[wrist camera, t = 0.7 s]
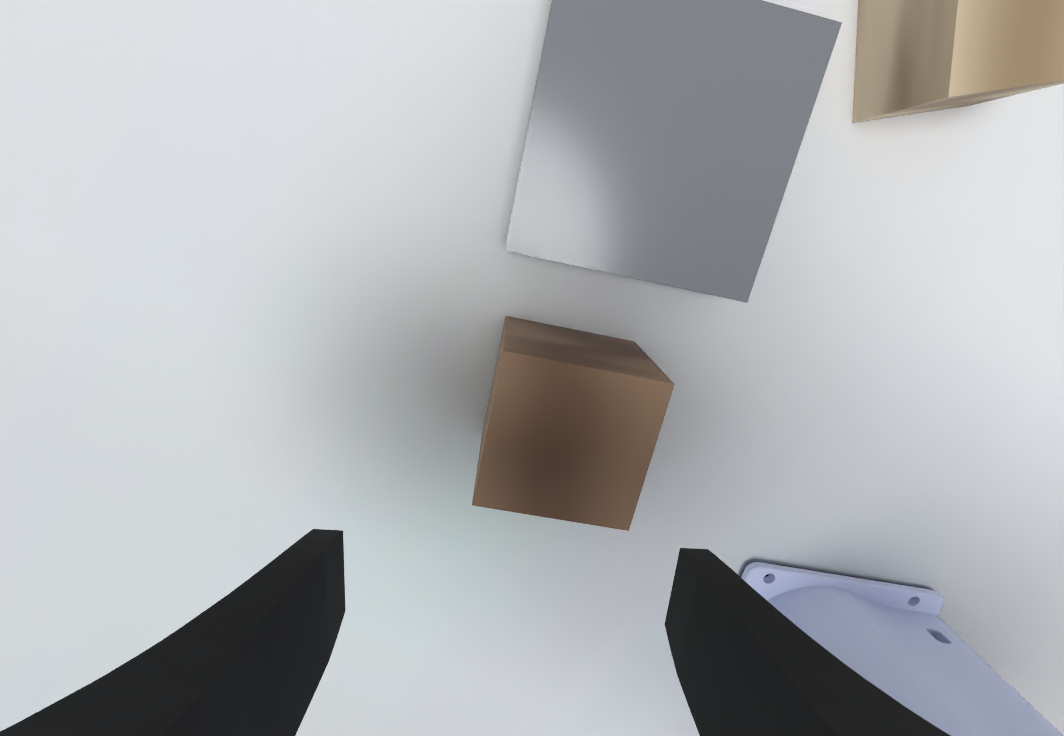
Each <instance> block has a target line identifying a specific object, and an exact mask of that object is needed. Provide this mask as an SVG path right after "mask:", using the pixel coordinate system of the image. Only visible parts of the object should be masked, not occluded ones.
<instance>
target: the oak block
mask: <svg viewBox="0 0 1064 736" xmlns="http://www.w3.org/2000/svg"><path fill="white" fill-rule="evenodd" d="M1062 83H1064V0H858V17H857V37H856V58H855V79H854V99H853V120H852V123H855V122H862V121H868V120H875V119H882V118H889V117H895V116H902V115H909V114H916V113H922V112H929V111H936V110H942V109H949V108H956V107H963V106H969V105H973V104H978V103H982V102H986V101H990V100H995V99H999V98H1003V97H1007V96H1012V95H1016V94H1020V93H1024V92H1028V91H1033V90H1037V89H1041V88H1045V87H1050V86H1054V85H1058V84H1062Z"/></svg>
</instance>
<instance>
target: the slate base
mask: <svg viewBox="0 0 1064 736" xmlns="http://www.w3.org/2000/svg"><path fill="white" fill-rule="evenodd" d="M841 24H842V22H838V21H834V20H831V19H827V18H823V17H820V16H816V15H813V14H809V13H805V12H802V11H798V10H795V9H791V8H787V7H784V6H780V5H777V4H773V3H769V2H766V1H762V0H552V4H551V9H550V14H549V19H548V24H547V30H546V35H545V40H544V45H543V51H542V56H541V61H540V66H539V72H538V77H537V82H536V87H535V93H534V98H533V103H532V108H531V114H530V119H529V124H528V129H527V135H526V140H525V145H524V150H523V156H522V161H521V166H520V171H519V177H518V182H517V187H516V192H515V197H514V203H513V208H512V213H511V218H510V224H509V229H508V234H507V239H506V245H505V250H504V251H508V252H513V253H518V254H522V255H527V256H532V257H536V258H541V259H546V260H550V261H555V262H560V263H564V264H569V265H574V266H578V267H583V268H588V269H592V270H597V271H602V272H607V273H611V274H616V275H621V276H625V277H630V278H635V279H639V280H644V281H649V282H653V283H658V284H663V285H667V286H672V287H677V288H681V289H686V290H691V291H695V292H700V293H705V294H709V295H714V296H719V297H724V298H728V299H733V300H738V301H742V302H748V299H749V296H750V293H751V290H752V287H753V284H754V281H755V278H756V275H757V272H758V269H759V266H760V263H761V260H762V257H763V254H764V251H765V248H766V245H767V242H768V240H769V237H770V234H771V231H772V228H773V225H774V222H775V219H776V216H777V213H778V210H779V207H780V204H781V201H782V198H783V195H784V192H785V189H786V186H787V183H788V180H789V177H790V175H791V172H792V169H793V166H794V163H795V160H796V157H797V154H798V151H799V148H800V145H801V142H802V139H803V136H804V133H805V130H806V127H807V124H808V121H809V118H810V115H811V112H812V109H813V107H814V104H815V101H816V98H817V95H818V92H819V89H820V86H821V83H822V80H823V77H824V74H825V71H826V68H827V65H828V62H829V59H830V56H831V53H832V50H833V47H834V44H835V42H836V39H837V36H838V33H839V30H840V27H841Z"/></svg>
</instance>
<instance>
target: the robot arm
mask: <svg viewBox="0 0 1064 736" xmlns="http://www.w3.org/2000/svg"><path fill="white" fill-rule="evenodd" d="M767 574H770V575H769V576H767V577H765V575H767ZM943 604H944V599H943V598H942V596H941V595H939V594H938V593H937V592H936V591H934V590H929V589H923V588H917V587H911V586H904V585H898V584H892V583H886V582H879V581H873V580H867V579H861V578H854V577H848V576H842V575H836V574H829V573H823V572H817V571H811V570H804V569H798V568H792V567H786V566H780V565H773V564H767V563H761V562H754V563H751V564H749V565H748V566H746V568H745V570H744V572H743V574H742V577H740V576H739V575H737V574H736V573H735V572H734V571H733V570H732V569H731V568H729V567H728V566H727V565H726V564H725V563H724V562H722V561H721V560H720V559H719V558H718V557H717V556H715V555H714V554H713V553H712V552H710V551H709V550H708V549H690V548H680V552H679V556H678V561H677V566H676V571H675V576H674V581H673V586H672V591H671V596H670V601H669V606H668V611H667V616H666V621H665V627H666V631H667V636H668V640H669V644H670V649H671V653H672V656H673V660H674V664H675V668H676V672H677V675H678V678H679V681H680V683H681V686H682V689H683V692H684V694H685V697H686V700H687V702H688V705H689V708H690V711H691V713H692V716H693V719H694V721H695V724H696V727H697V729H698V732H699V735H700V736H1063V735H1062V734H1061V733H1060V732H1059V731H1058V730H1057V729H1056V728H1055V727H1054V726H1053V725H1052V724H1051V723H1050V722H1049V721H1047V720H1046V719H1045V718H1044V717H1043V716H1042V715H1041V714H1040V713H1039V712H1038V711H1037V710H1036V709H1035V708H1034V707H1033V706H1032V705H1031V704H1030V703H1028V702H1027V701H1026V700H1025V699H1024V698H1023V697H1022V696H1021V695H1020V694H1019V693H1018V692H1017V691H1016V690H1015V689H1014V688H1013V687H1012V686H1011V685H1009V684H1008V683H1007V682H1006V681H1005V680H1004V679H1003V678H1002V677H1001V676H1000V675H999V674H998V673H997V672H996V671H995V670H994V669H993V668H991V667H990V666H989V665H988V664H987V663H986V662H985V661H984V660H983V659H982V658H981V657H980V656H979V655H978V654H977V653H976V652H975V651H974V650H972V649H971V648H970V647H969V646H968V645H967V644H966V643H965V642H964V641H963V640H962V639H961V638H960V637H959V636H958V635H957V634H956V633H954V632H953V631H952V630H951V629H950V628H949V627H948V626H947V625H946V624H945V623H944V622H943V621H942V620H941V619H940V618H939V617H938V614H939V612H940V610H941V608H942V606H943ZM344 613H345V586H344V552H343V531H340V530H320V529H313V530H311V531H310V532H309V533H307V534H306V535H305V536H303V537H302V538H301V539H300V540H298V541H297V542H296V543H294V544H293V545H292V546H291V547H289V548H288V549H287V550H286V551H284V552H283V553H282V554H281V555H279V556H278V557H277V558H275V559H274V560H273V561H272V562H270V563H269V564H268V565H267V566H265V567H264V568H263V569H261V570H260V571H259V572H257V573H256V574H255V575H253V576H252V577H251V578H250V579H248V580H247V581H246V582H244V583H243V584H242V585H240V586H239V587H238V588H236V589H235V590H234V591H232V592H231V593H230V594H228V595H227V596H226V597H224V598H223V599H221V600H220V601H218V602H217V603H216V604H214V605H213V606H211V607H210V608H208V609H207V610H206V611H204V612H203V613H201V614H200V615H198V616H197V617H196V618H194V619H193V620H191V621H190V622H188V623H187V624H186V625H184V626H183V627H181V628H180V629H178V630H177V631H176V632H174V633H172V634H171V635H169V636H168V637H166V638H165V639H163V640H162V641H160V642H159V643H157V644H155V645H154V646H152V647H151V648H149V649H148V650H146V651H144V652H143V653H141V654H140V655H138V656H136V657H135V658H133V659H131V660H130V661H128V662H126V663H125V664H123V665H121V666H120V667H118V668H116V669H115V670H113V671H111V672H110V673H108V674H106V675H105V676H103V677H101V678H99V679H98V680H96V681H94V682H92V683H91V684H89V685H87V686H85V687H83V688H81V689H79V690H78V691H76V692H74V693H72V694H70V695H68V696H67V697H65V698H63V699H61V700H59V701H57V702H55V703H54V704H52V705H50V706H48V707H46V708H44V709H42V710H41V711H39V712H37V713H35V714H33V715H31V716H29V717H28V718H26V719H24V720H22V721H20V722H18V723H16V724H14V725H13V726H11V727H9V728H7V729H5V730H3V731H1V732H0V736H295V735H296V732H297V730H298V728H299V726H300V724H301V722H302V719H303V717H304V715H305V713H306V711H307V708H308V706H309V704H310V702H311V700H312V697H313V695H314V693H315V691H316V689H317V686H318V684H319V682H320V680H321V677H322V675H323V673H324V671H325V668H326V666H327V664H328V662H329V659H330V656H331V653H332V650H333V647H334V644H335V641H336V638H337V635H338V632H339V629H340V626H341V623H342V619H343V616H344Z"/></svg>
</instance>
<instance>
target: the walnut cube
mask: <svg viewBox="0 0 1064 736" xmlns="http://www.w3.org/2000/svg"><path fill="white" fill-rule="evenodd" d="M673 386H674V383H673V382H672V381H671V380H670V379H669V378H668V377H667V376H666V375H665V374H664V373H663V372H662V371H661V369H660V368H659V367H658V366H657V365H656V364H655V363H654V362H653V361H652V360H651V359H650V358H649V357H648V356H647V355H646V354H645V353H644V352H643V350H642V349H641V348H640V347H639V346H638V345H637V344H636V343H635V342H633V341H628V340H623V339H618V338H613V337H608V336H603V335H598V334H593V333H588V332H583V331H578V330H573V329H568V328H563V327H558V326H553V325H548V324H543V323H538V322H533V321H528V320H523V319H518V318H513V317H508V316H506V317H505V323H504V328H503V333H502V338H501V343H500V348H499V353H498V358H497V363H496V368H495V373H494V378H493V383H492V388H491V393H490V398H489V403H488V408H487V413H486V418H485V423H484V428H483V433H482V439H481V446H480V453H479V460H478V467H477V474H476V481H475V488H474V495H473V502H472V505H474V506H480V507H486V508H492V509H499V510H505V511H511V512H517V513H523V514H529V515H535V516H542V517H548V518H554V519H560V520H566V521H572V522H578V523H585V524H591V525H597V526H603V527H609V528H615V529H621V530H628V531H629V528H630V525H631V521H632V518H633V515H634V512H635V509H636V505H637V502H638V499H639V496H640V492H641V489H642V486H643V483H644V480H645V476H646V473H647V470H648V467H649V463H650V460H651V457H652V454H653V451H654V447H655V444H656V441H657V438H658V434H659V431H660V428H661V425H662V422H663V418H664V415H665V412H666V409H667V405H668V402H669V399H670V396H671V393H672V389H673Z"/></svg>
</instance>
